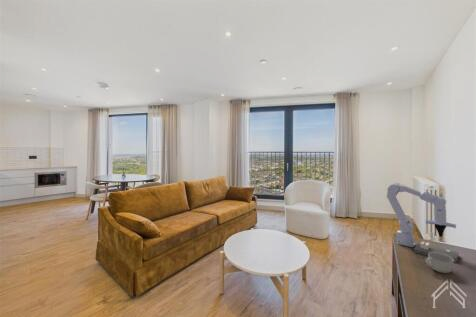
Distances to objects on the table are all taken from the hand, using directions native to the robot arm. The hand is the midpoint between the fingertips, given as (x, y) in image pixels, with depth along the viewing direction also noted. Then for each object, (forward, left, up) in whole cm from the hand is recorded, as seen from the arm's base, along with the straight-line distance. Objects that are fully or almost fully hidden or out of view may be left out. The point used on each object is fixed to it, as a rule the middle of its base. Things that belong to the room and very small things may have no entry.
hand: (440, 236), depth 144 cm
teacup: (+2, -30, -11) cm, 32 cm away
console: (-2, -6, -10) cm, 12 cm away
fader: (-7, -6, -8) cm, 12 cm away
